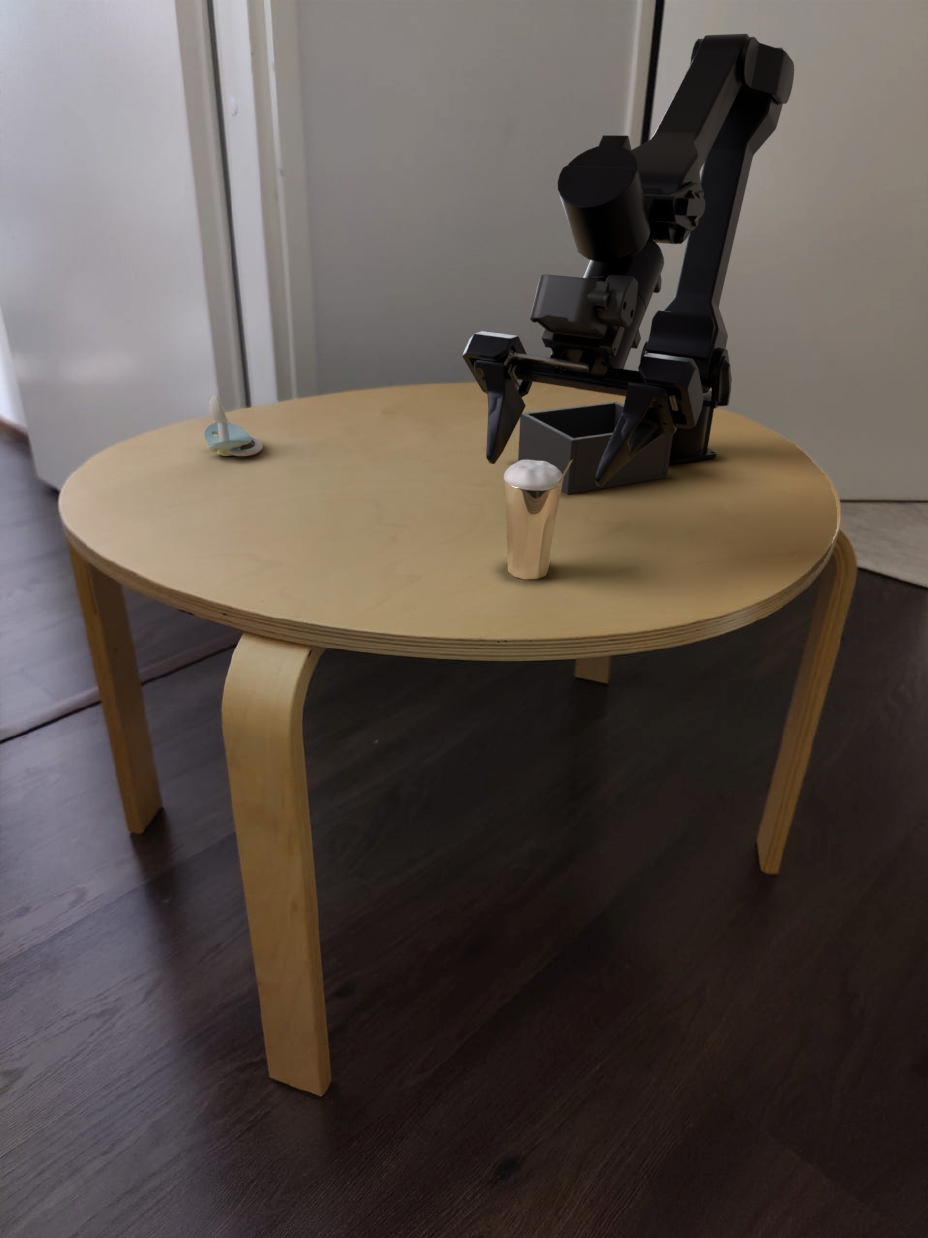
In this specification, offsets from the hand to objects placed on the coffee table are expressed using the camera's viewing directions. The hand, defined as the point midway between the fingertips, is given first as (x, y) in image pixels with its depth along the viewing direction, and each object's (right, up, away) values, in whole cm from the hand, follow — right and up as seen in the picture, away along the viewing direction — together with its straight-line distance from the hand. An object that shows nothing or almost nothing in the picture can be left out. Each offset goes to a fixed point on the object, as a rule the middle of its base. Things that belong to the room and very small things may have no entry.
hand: (542, 472), depth 66 cm
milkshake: (0, -8, +4) cm, 9 cm away
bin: (+8, +5, +25) cm, 27 cm away
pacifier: (-31, +7, +29) cm, 43 cm away
